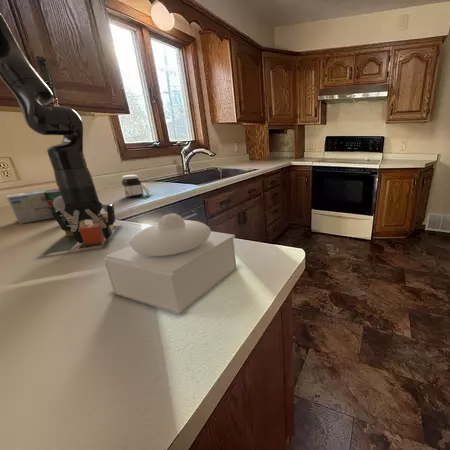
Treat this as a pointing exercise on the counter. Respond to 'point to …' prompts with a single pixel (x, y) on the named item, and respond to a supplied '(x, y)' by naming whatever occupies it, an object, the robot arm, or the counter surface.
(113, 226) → the tan wooden block
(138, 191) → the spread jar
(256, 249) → the counter surface
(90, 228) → the orange block
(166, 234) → the butter dish
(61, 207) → the lightbulb
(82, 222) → the tan wooden cube
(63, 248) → the dark green flat slab
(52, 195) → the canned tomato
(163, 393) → the counter surface
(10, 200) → the light bulb box
